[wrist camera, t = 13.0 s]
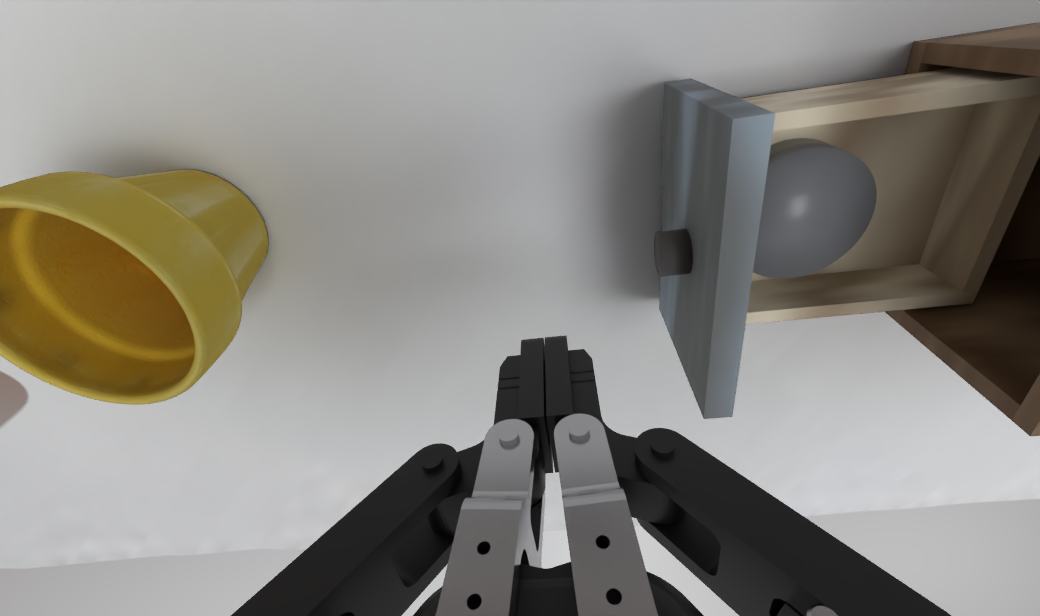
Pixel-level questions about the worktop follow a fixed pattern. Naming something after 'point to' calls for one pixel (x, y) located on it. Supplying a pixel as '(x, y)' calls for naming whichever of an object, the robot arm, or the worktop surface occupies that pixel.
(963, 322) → the housing
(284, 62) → the worktop surface
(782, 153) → the disc
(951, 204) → the drawer
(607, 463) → the robot arm
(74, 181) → the plant pot
